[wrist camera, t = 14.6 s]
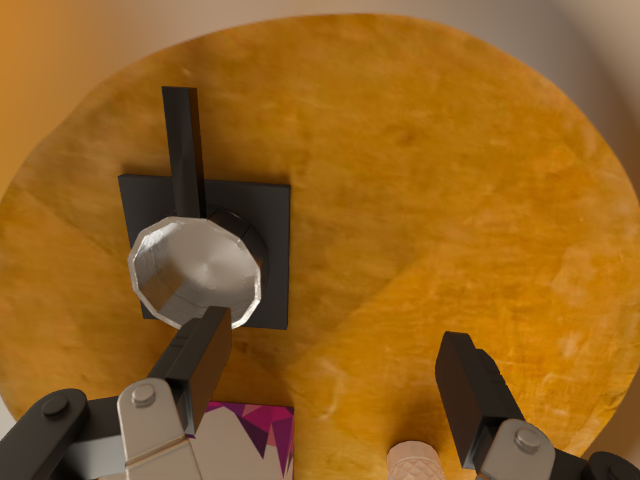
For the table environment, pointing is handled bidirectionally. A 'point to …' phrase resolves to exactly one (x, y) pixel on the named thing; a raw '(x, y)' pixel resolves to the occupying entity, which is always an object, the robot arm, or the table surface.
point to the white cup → (414, 462)
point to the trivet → (241, 197)
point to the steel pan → (196, 237)
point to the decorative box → (243, 443)
